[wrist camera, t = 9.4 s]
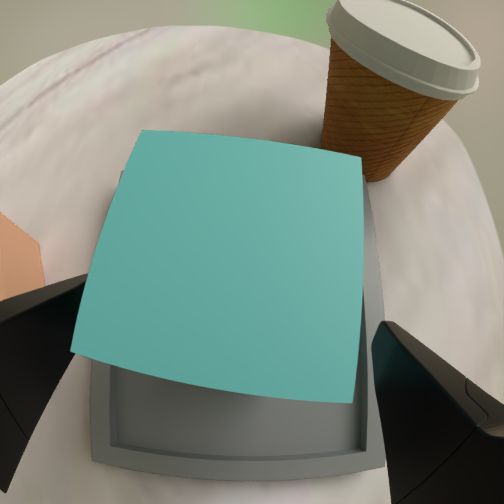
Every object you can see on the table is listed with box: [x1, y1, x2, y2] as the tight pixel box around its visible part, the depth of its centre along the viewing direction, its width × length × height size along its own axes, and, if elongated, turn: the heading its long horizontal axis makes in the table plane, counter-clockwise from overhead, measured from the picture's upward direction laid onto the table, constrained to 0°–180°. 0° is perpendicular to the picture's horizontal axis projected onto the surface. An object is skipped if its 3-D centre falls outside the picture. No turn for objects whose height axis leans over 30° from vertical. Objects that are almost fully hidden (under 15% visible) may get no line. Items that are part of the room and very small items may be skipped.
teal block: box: [70, 130, 364, 403], centre depth 11 cm, size 4×4×12 cm
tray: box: [90, 171, 386, 481], centre depth 17 cm, size 18×16×2 cm
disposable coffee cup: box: [321, 0, 481, 181], centre depth 17 cm, size 10×10×12 cm
